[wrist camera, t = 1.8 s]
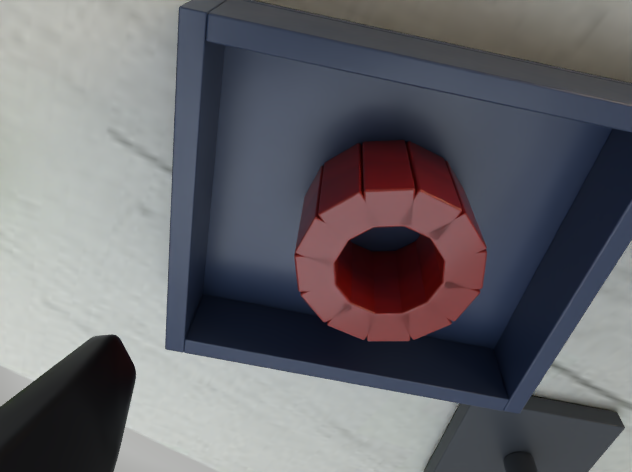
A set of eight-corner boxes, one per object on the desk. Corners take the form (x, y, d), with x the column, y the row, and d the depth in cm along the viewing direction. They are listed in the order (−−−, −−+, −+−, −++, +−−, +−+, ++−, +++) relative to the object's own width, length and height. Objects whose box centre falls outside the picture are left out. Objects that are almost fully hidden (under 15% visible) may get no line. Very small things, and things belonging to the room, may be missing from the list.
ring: (491, 157, 19) (520, 210, 16) (435, 290, 23) (450, 357, 19) (320, 121, 19) (312, 167, 15) (291, 262, 22) (279, 325, 19)
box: (651, 87, 18) (709, 121, 15) (501, 357, 25) (520, 415, 22) (208, -11, 17) (178, 6, 14) (187, 297, 24) (164, 349, 21)
